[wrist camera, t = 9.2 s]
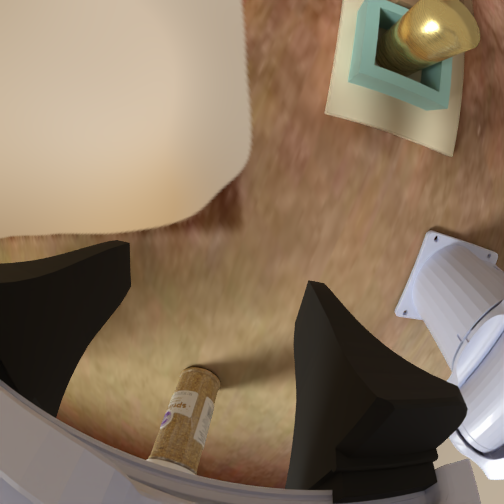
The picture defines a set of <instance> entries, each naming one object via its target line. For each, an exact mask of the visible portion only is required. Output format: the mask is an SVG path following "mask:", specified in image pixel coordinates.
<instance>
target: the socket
mask: <svg viewBox="0 0 504 504" xmlns="http://www.w3.org/2000/svg"><path fill="white" fill-rule="evenodd" d="M408 10H409V9H407V8H405V7H402V6H400V5H397V4H395V3H392V2H390V1H387V0H364V2H363V3H362V5H361V6H360V8H359V10H358V11H357V20H356V29H355V36H354V44H353V51H352V58H351V64H350V71H349V77H348V82H349V83H353V84H356V85H359V86H362V87H366V88H369V89H372V90H375V91H378V92H381V93H383V94H386V95H389V96H392V97H394V98H397V99H400V100H402V101H405V102H407V103H410V104H412V105H414V106H417V107H419V108H421V109H424V110H426V111H429V110H439V109H448V105H449V96H450V87H451V75H452V57H453V56H452V57H450V58H448V59H445V60H443V61H440V62H438V63H436V64H433V65H431V66H429V67H426V68H424V69H422V73H421V82H420V83H419V82H417V81H414V80H412V79H410V78H407V77H405V76H402V75H400V74H397V73H395V72H392V71H390V70H387V69H384V68H381V67H379V66H376V65H374V63H375V56H376V48H377V39H378V29H379V27H381V28H383V29H386V30H389V29H390V28H391V27H392V26H393V25H394V24H395V23H396V22H397V21H398V20H399V19H400V18H401V17H402V16H403V15H404V14H405V13H406V12H407V11H408Z"/></svg>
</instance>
